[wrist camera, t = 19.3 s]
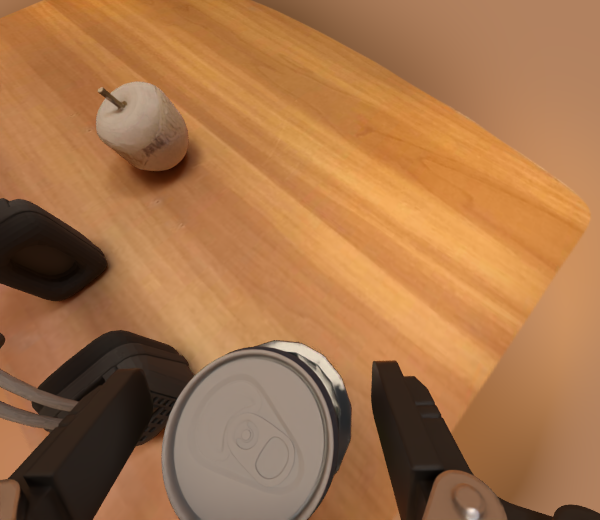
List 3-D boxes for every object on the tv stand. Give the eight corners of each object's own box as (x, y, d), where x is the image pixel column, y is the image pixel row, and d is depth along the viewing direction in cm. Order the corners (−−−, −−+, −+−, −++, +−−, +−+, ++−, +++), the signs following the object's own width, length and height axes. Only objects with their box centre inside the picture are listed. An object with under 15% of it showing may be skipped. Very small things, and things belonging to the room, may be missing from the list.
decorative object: (212, 149, 37) (180, 69, 28) (168, 198, 34) (114, 127, 25) (161, 127, 39) (115, 47, 30) (115, 172, 36) (48, 97, 27)
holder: (361, 385, 24) (373, 382, 19) (310, 508, 21) (309, 543, 16) (267, 332, 27) (256, 318, 22) (207, 436, 23) (178, 447, 18)
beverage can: (340, 402, 23) (377, 413, 10) (295, 479, 21) (262, 630, 8) (279, 356, 25) (236, 310, 11) (232, 423, 23) (112, 465, 9)
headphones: (212, 389, 25) (-64, 376, 7) (150, 450, 23) (-450, 657, 5) (92, 235, 32) (-196, 30, 14) (38, 273, 30) (-369, 94, 12)
